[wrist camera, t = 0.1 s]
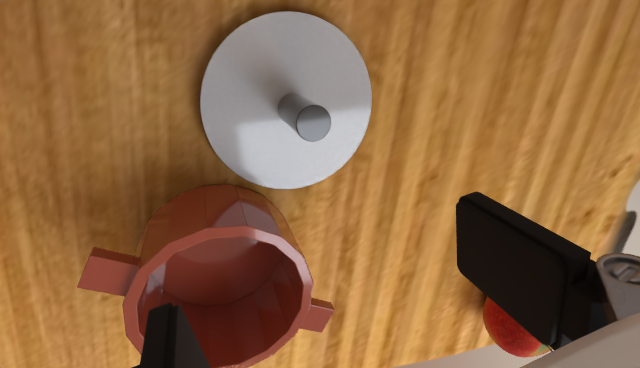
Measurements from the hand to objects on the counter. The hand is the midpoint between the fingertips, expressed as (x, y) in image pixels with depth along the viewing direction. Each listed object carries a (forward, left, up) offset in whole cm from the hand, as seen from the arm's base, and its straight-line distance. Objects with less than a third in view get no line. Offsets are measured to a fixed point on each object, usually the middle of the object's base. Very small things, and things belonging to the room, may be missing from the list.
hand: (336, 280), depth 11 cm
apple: (+7, +38, -20) cm, 43 cm away
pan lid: (-3, +2, -19) cm, 19 cm away
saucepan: (+11, +2, -19) cm, 22 cm away
